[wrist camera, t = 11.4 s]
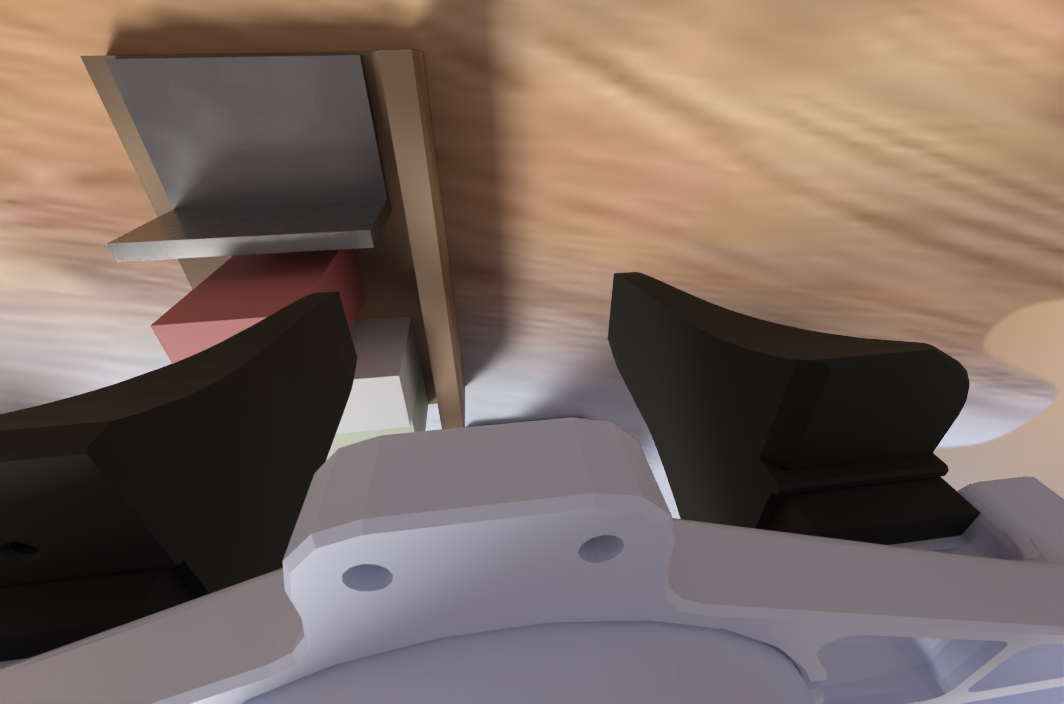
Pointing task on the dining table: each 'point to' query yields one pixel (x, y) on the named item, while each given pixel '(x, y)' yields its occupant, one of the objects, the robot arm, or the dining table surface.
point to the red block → (255, 296)
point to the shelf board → (408, 236)
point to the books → (383, 383)
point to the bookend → (255, 155)
